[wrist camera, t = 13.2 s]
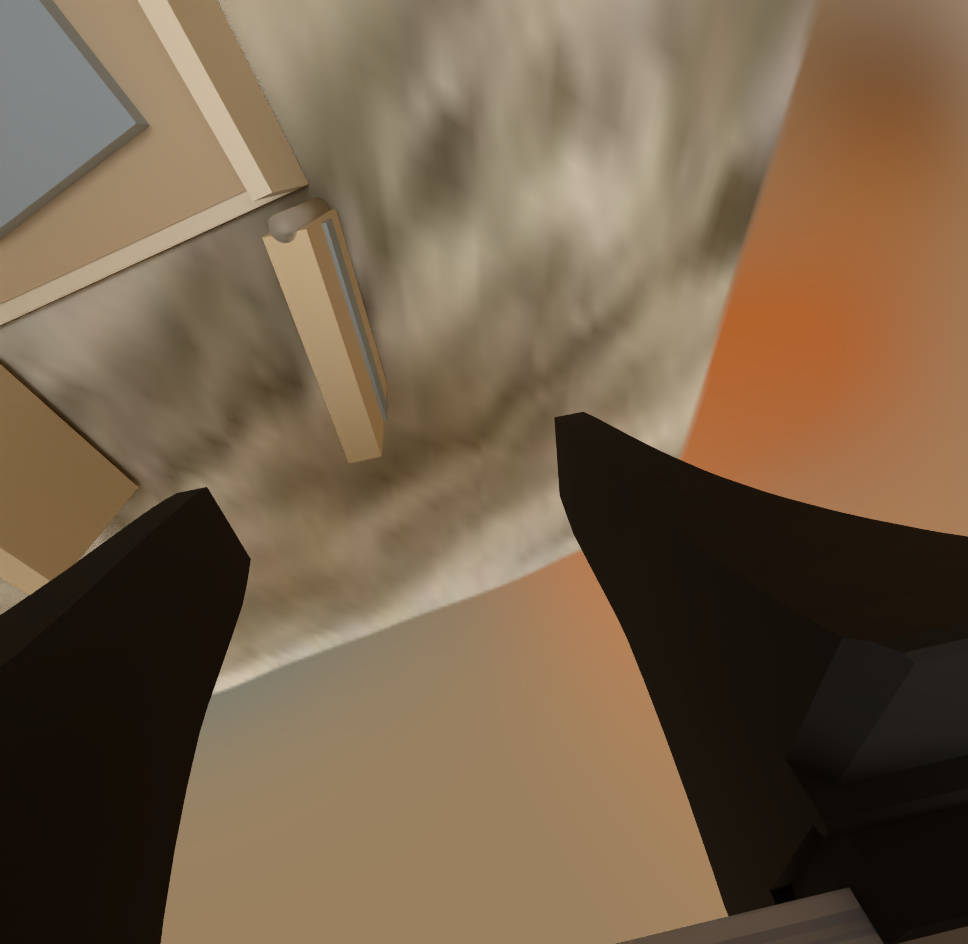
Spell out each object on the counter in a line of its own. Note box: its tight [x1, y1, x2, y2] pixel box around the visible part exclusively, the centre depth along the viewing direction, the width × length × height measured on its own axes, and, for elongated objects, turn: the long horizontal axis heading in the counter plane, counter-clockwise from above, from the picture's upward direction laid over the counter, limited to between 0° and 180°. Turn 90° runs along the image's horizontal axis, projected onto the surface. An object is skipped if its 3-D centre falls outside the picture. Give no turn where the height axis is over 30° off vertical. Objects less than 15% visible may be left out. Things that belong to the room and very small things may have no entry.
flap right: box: [262, 198, 388, 463], centre depth 14 cm, size 7×1×6 cm, turn 9°
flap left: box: [0, 364, 138, 595], centre depth 15 cm, size 7×1×6 cm, turn 24°
